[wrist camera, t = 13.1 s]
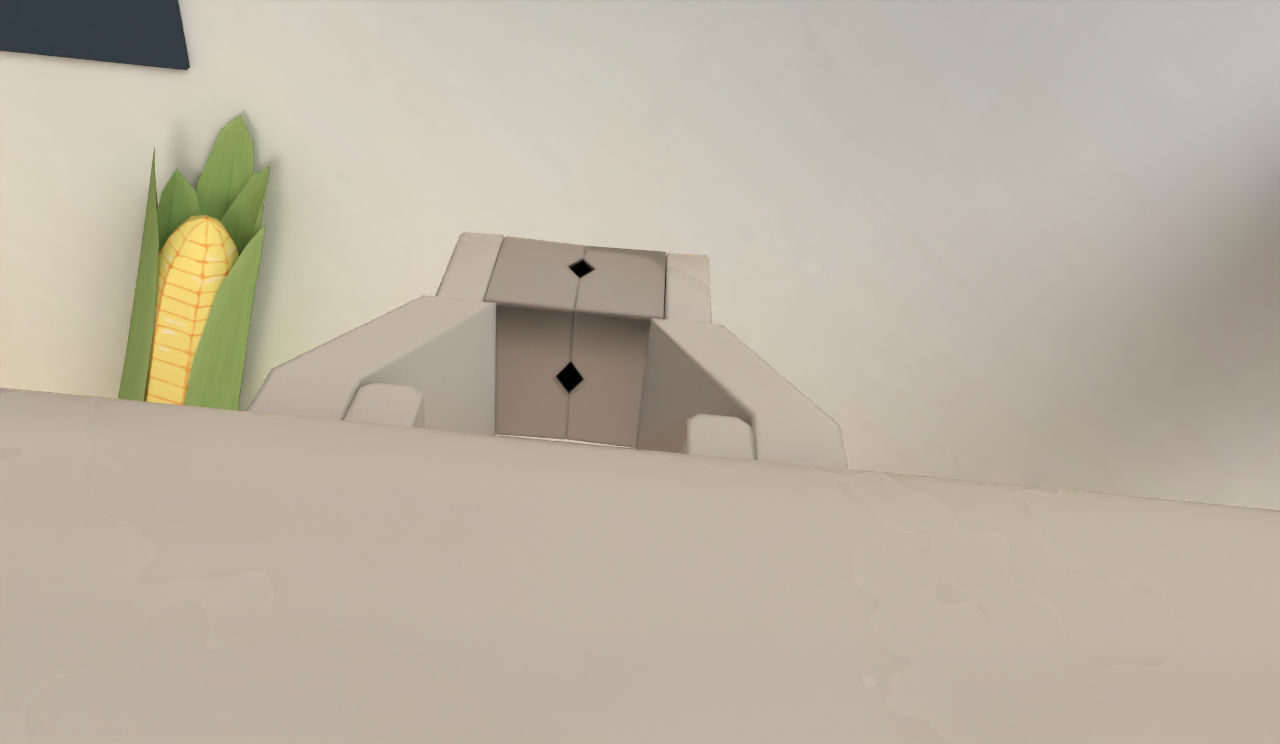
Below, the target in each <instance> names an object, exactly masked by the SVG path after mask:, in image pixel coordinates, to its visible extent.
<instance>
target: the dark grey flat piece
mask: <svg viewBox="0 0 1280 744" xmlns="http://www.w3.org/2000/svg"><path fill="white" fill-rule="evenodd" d="M0 51H10V52H20V53H29V54H39V55H48V56H58V57H67V58H77V59H86V60H96V61H105V62H115V63H124V64H134V65H143V66H153V67H163V68H172V69H182V70H187V69H188V68H189V67H190V66H189V61H188V55H187V50H186V44H185V39H184V33H183V27H182V22H181V16H180V11H179V5H178V0H0Z"/></svg>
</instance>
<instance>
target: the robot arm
mask: <svg viewBox="0 0 1280 744" xmlns="http://www.w3.org/2000/svg"><path fill="white" fill-rule="evenodd" d="M495 434H498V435H495ZM499 435H513V436H527V437H541V438H555V439H568V440H576V441H584V442H592V443H600V444H609V445H617V446H625V447H633V448H636V449H633V448H623V447H613V446H602V445H592V444H582V443H571V442H561V441H550V440H540V439H530V438H519V437H509V436H499ZM0 744H1280V511H1279V510H1269V509H1258V508H1248V507H1238V506H1227V505H1217V504H1206V503H1196V502H1186V501H1175V500H1165V499H1154V498H1144V497H1134V496H1123V495H1113V494H1102V493H1092V492H1081V491H1071V490H1061V489H1050V488H1040V487H1029V486H1019V485H1009V484H998V483H988V482H977V481H967V480H957V479H946V478H936V477H925V476H915V475H904V474H894V473H884V472H873V471H863V470H852V469H848V465H847V460H846V455H845V450H844V445H843V440H842V435H841V430H840V426H839V425H838V424H837V423H836V422H835V421H834V420H833V419H831V418H830V417H829V416H828V415H827V414H826V413H824V412H823V411H822V410H821V409H820V408H819V407H817V406H816V405H815V404H814V403H813V402H812V401H810V400H809V399H808V398H807V397H806V396H805V395H803V394H802V393H801V392H800V391H799V390H798V389H796V388H795V387H794V386H793V385H792V384H791V383H790V382H788V381H787V380H786V379H785V378H784V377H783V376H781V375H780V374H779V373H778V372H777V371H776V370H774V369H773V368H772V367H771V366H770V365H769V364H767V363H766V362H765V361H764V360H763V359H762V358H760V357H759V356H758V355H757V354H756V353H755V352H753V351H752V350H751V349H750V348H749V347H748V346H746V345H745V344H744V343H743V342H742V341H741V340H739V339H738V338H737V337H736V336H735V335H734V334H732V333H731V332H730V331H729V330H728V329H727V328H725V327H724V326H723V325H716V324H712V312H711V289H710V266H709V258H708V257H707V256H706V255H692V254H674V253H667V254H666V252H659V251H646V250H633V249H620V248H607V247H594V246H584V245H576V244H567V243H559V242H551V241H542V240H534V239H525V238H517V237H509V236H506V237H504V236H503V235H498V234H484V233H470V232H464V233H462V234H461V235H460V236H459V239H458V241H457V244H456V246H455V249H454V251H453V254H452V256H451V259H450V261H449V264H448V266H447V269H446V271H445V273H444V276H443V278H442V281H441V283H440V286H439V288H438V291H437V293H436V296H435V297H434V296H422V297H420V298H418V299H416V300H414V301H411V302H409V303H407V304H405V305H403V306H401V307H399V308H397V309H395V310H393V311H391V312H389V313H387V314H385V315H383V316H380V317H378V318H376V319H374V320H372V321H370V322H368V323H366V324H364V325H362V326H360V327H358V328H356V329H354V330H352V331H350V332H347V333H345V334H343V335H341V336H339V337H337V338H335V339H333V340H331V341H329V342H327V343H325V344H323V345H321V346H319V347H316V348H314V349H312V350H310V351H308V352H306V353H304V354H302V355H300V356H298V357H296V358H294V359H292V360H290V361H288V362H286V363H283V364H281V365H279V366H277V367H275V368H273V369H271V371H270V373H269V374H268V376H267V378H266V379H265V381H264V383H263V384H262V386H261V388H260V389H259V391H258V393H257V394H256V396H255V398H254V399H253V401H252V403H251V404H250V406H249V408H248V409H247V411H240V410H230V409H219V408H209V407H199V406H188V405H178V404H168V403H157V402H147V401H137V400H126V399H116V398H105V397H95V396H84V395H73V394H63V393H52V392H42V391H31V390H21V389H10V388H0Z"/></svg>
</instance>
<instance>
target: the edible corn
mask: <svg viewBox="0 0 1280 744" xmlns="http://www.w3.org/2000/svg"><path fill="white" fill-rule="evenodd" d="M269 170H270V166H269V167H267V168H265V169H264V170H262V171H260V172H258V173H256V174H255V175H253V143H252V140H251V138H250V135H249V133H248V131H247V128H246V126H245V124H244V121H243V119H242V117H241V115H239V116H238V117H237V118H236V119H234V120H233V121H232V122H230V123H229V124H228V125H227V126H225V127H224V128H223V129H222V130H221V131H220V133H219V136H218V138H217V140H216V142H215V145H214V147H213V149H212V151H211V154H210V156H209V158H208V161H207V163H206V165H205V167H204V170H203V172H202V174H201V176H200V179H199V181H198V184H197V187H196V190H194V189H193V187H192V186H191V185H190V184H189V182H188V181H187V180H186V179H185V178H184V176H183V175H182V174H181V173H180V172H179V170H178V169H176V171H175V172H174V174H173V175H172V177H171V179H170V180H169V182H168V183H167V185H166V186H165V188H164V190H163V191H162V194H161V198H160V202H159V206H158V204H157V192H156V180H155V147H154V155H153V162H152V170H151V178H150V185H149V193H148V200H147V208H146V216H145V223H144V231H143V239H142V246H141V254H140V262H139V269H138V275H137V282H136V289H135V296H134V303H133V309H132V316H131V323H130V330H129V337H128V343H127V350H126V356H125V362H124V367H123V373H122V379H121V384H120V390H119V395H118V399H126V400H137V401H147V402H157V403H168V404H178V405H188V406H199V407H209V408H219V409H230V410H238V406H239V398H240V391H241V384H242V376H243V369H244V361H245V353H246V346H247V339H248V332H249V325H250V319H251V312H252V306H253V300H254V293H255V287H256V282H257V277H258V272H259V265H260V258H261V250H262V243H263V237H264V231H265V224H266V223H265V224H264V226H263V227H262V228H261V229H260V225H261V219H262V213H263V207H264V201H265V194H266V188H267V182H268V176H269Z"/></svg>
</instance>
